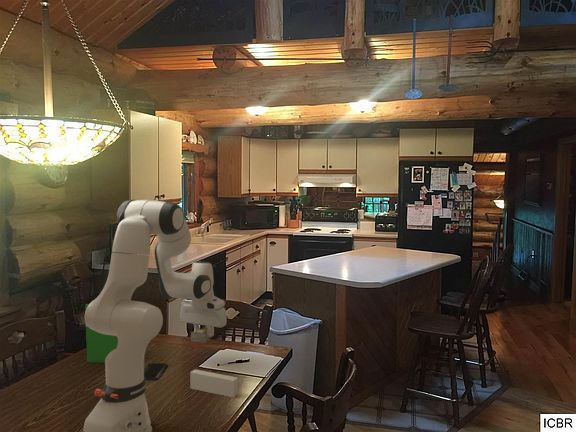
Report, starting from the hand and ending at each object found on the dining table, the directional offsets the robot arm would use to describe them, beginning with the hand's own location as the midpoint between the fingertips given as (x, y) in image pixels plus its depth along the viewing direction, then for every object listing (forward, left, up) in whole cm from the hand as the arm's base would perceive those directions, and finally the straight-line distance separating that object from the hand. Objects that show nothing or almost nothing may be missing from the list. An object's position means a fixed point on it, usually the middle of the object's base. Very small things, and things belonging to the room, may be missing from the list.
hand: (203, 335), depth 195 cm
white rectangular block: (-16, -17, -12) cm, 26 cm away
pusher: (+1, 0, -2) cm, 2 cm away
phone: (-14, +14, -13) cm, 24 cm away
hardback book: (-10, +39, -13) cm, 42 cm away
